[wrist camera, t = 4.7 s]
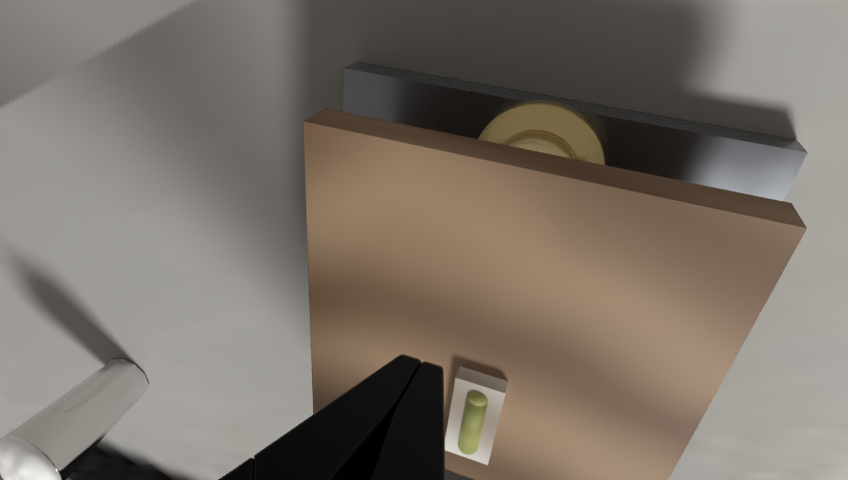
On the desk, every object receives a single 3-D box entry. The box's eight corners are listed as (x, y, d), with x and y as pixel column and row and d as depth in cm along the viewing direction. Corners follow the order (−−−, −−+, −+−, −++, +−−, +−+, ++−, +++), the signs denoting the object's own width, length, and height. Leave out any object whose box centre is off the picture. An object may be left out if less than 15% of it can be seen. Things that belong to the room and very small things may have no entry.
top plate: (626, 504, 23) (625, 578, 20) (337, 404, 26) (304, 456, 23) (784, 191, 15) (817, 246, 12) (337, 102, 18) (287, 130, 15)
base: (645, 449, 26) (647, 534, 22) (351, 355, 29) (311, 414, 26) (801, 131, 17) (848, 184, 13) (356, 54, 21) (298, 78, 17)
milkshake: (112, 333, 36) (-37, 448, 28) (167, 388, 38) (38, 513, 29) (88, 354, 39) (-56, 465, 31) (139, 404, 40) (14, 524, 32)
